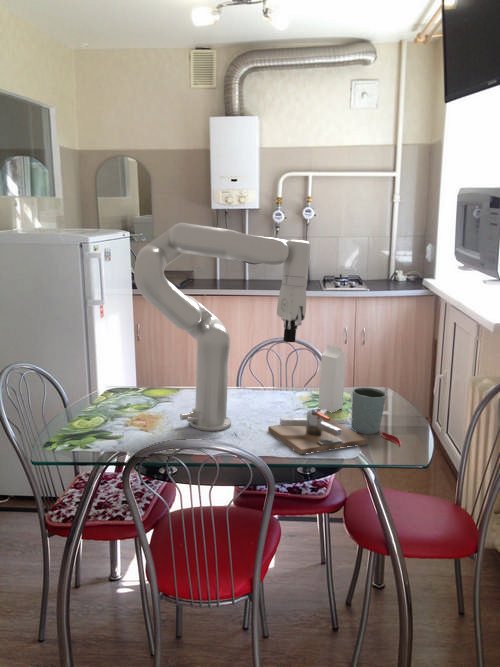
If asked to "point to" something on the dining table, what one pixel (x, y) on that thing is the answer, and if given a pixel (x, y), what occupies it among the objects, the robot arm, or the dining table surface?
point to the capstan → (313, 423)
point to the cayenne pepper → (391, 438)
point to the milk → (332, 379)
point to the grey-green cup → (367, 409)
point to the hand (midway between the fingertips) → (289, 341)
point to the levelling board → (314, 437)
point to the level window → (329, 442)
